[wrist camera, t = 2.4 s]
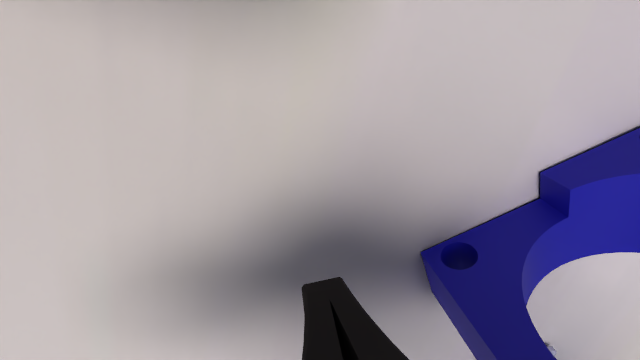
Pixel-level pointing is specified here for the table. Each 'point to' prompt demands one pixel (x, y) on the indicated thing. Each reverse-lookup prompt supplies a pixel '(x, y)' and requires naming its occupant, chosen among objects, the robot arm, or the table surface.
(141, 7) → the table surface
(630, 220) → the cable clip
